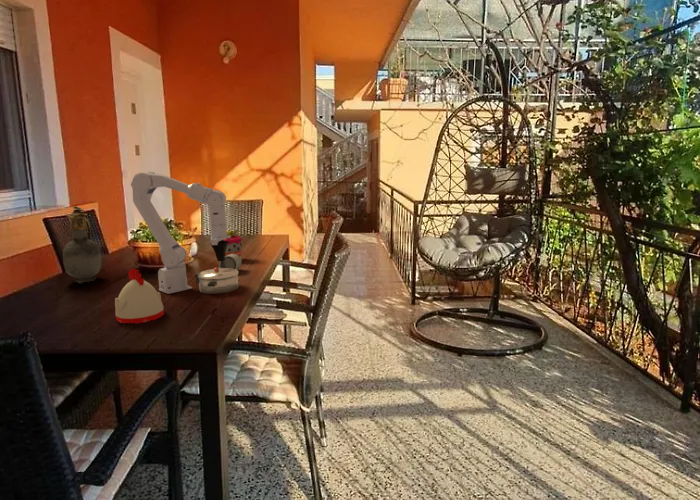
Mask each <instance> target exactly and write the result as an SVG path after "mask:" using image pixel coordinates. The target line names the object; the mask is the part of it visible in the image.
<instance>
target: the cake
mask: <svg viewBox="0 0 700 500" xmlns="http://www.w3.org/2000/svg"><path fill="white" fill-rule="evenodd" d="M237 234H238V229H237V228H236V229H235V230H228V229H227V235H228V236H231V238H227V239H224V241H228V245H227V247H226V252H225V256H227V255H230V254H236V255H238V256H239V257H240V259H241V262H242V261H243V254H244V251H243V246H242V237H241V236H239V235H237Z"/></svg>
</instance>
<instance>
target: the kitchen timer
mask: <svg viewBox="0 0 700 500" xmlns="http://www.w3.org/2000/svg"><path fill="white" fill-rule="evenodd" d="M127 275H128V278H129V282H127V283H126V284H125V286H123V288H122V289H121V291H120V292H119V295H118V297H115V298H114V307H115V321H116V322H117V321H118V323H119V322H120V324H125V323H128V324H129V323H132V324H133V323H135V324H141V323H146V322H151V320H152V321H155V320H157V319H160V318H161V317H163V316H164V315H165V307H164V305H163V302H162V296H161V294H162V293H161V291H160V292H158V291H157V290H156V288H155V287H154V286H153V285H152V284H151V283H150V282H147V281H146V280H145V278H142V273H140V272H139V269H137V268H130V269H129V271H128V272H127ZM129 325H130V324H129Z"/></svg>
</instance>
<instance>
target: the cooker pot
mask: <svg viewBox="0 0 700 500" xmlns="http://www.w3.org/2000/svg"><path fill="white" fill-rule="evenodd" d="M238 275H239V274H238ZM238 275H236V276H234V277H231V278H227V279H220V280H203V279H199V278H198V276H197V277H195V283H196V284H198V286H199V291H200V293H203V294H208V295H210V294H211V295H212V294H213V295H215V294H225V293H229V292H233V291H237V290H238V288H239V276H238Z"/></svg>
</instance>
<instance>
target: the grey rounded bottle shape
mask: <svg viewBox="0 0 700 500" xmlns="http://www.w3.org/2000/svg"><path fill="white" fill-rule="evenodd" d="M87 215H88V213H87V211H86V210H84V209H83V208H82V207H78V206H73V211H72V212H71V214H65V217H67V218H68V220H69V222H70V224H69V225H70V231H71V233H72V240H71V241H69V242H68V243H66V245H65V246H64V247H63V250H62V260H63V267H64V270H65V272H66V274H67V275H69V276H70V277H73V278H75V281H74V282H75V283H76V282H78V283H77V284H84V283H83V282H88V283H91V282H90V281H92V282H94V281H96V280H95V279H97V277H96V275H98V273H99V272H100V270H101V268H102V252H101V248H100V245H99V244H98V242H96V241H95V240H91V236H92V235H91V233H92V231H91V224H90V222H89V219H88V218H87V217H86V216H87Z"/></svg>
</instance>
